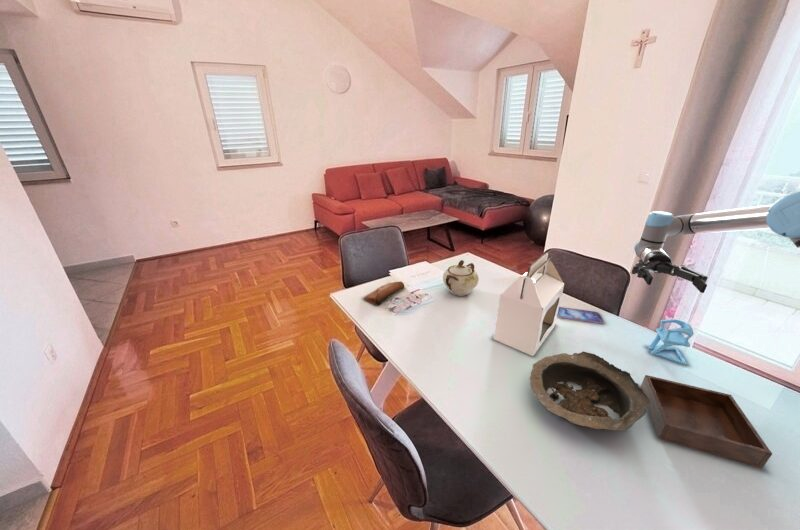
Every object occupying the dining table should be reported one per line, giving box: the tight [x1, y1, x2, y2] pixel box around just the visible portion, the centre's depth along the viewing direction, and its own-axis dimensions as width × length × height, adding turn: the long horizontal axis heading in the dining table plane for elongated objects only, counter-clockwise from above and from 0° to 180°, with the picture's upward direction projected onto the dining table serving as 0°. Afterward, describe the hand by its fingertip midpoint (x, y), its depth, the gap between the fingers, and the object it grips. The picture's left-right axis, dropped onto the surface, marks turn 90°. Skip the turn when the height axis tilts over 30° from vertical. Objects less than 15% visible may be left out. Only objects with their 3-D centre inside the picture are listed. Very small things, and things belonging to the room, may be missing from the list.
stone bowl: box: [529, 351, 650, 432], centre depth 78 cm, size 25×25×9 cm
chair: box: [647, 318, 695, 366], centre depth 95 cm, size 8×8×12 cm
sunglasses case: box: [363, 281, 405, 306], centre depth 133 cm, size 18×7×7 cm
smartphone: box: [557, 306, 604, 324], centre depth 118 cm, size 7×1×15 cm
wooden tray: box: [639, 374, 773, 469], centre depth 74 cm, size 18×17×5 cm
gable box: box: [493, 251, 565, 357], centre depth 103 cm, size 22×13×28 cm, turn 139°
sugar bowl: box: [442, 259, 480, 297], centre depth 133 cm, size 20×15×15 cm
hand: (676, 285), depth 98 cm, fingers open, 13 cm apart
